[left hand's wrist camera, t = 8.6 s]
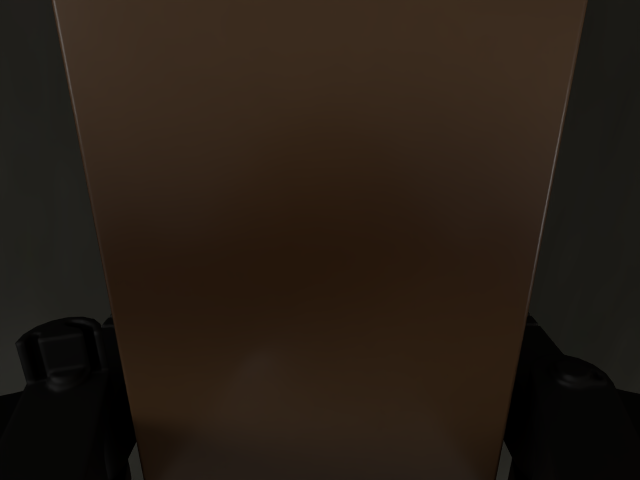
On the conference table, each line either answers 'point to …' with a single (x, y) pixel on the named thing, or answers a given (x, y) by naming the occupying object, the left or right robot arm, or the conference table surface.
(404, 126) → the beam
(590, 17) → the conference table surface
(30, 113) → the conference table surface
